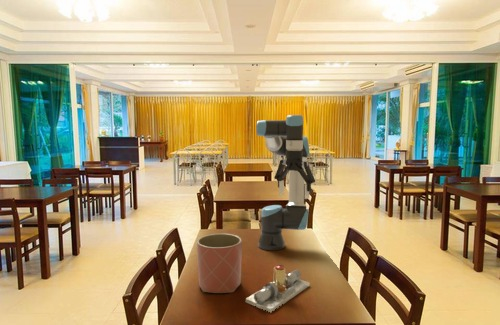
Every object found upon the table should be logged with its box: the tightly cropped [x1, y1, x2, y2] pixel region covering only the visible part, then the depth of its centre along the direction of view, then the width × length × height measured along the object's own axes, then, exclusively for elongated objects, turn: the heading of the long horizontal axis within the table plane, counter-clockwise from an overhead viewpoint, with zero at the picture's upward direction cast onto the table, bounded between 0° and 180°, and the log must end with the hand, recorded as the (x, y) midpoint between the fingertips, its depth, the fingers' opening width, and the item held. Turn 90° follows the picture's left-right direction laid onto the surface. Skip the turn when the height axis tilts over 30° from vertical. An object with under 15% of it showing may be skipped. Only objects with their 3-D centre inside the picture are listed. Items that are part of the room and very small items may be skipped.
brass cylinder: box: [272, 264, 286, 293], centre depth 137 cm, size 5×5×10 cm
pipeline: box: [245, 269, 310, 314], centre depth 137 cm, size 28×12×6 cm, turn 140°
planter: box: [196, 233, 243, 294], centre depth 144 cm, size 19×19×20 cm
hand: (293, 196), depth 153 cm, fingers open, 13 cm apart
